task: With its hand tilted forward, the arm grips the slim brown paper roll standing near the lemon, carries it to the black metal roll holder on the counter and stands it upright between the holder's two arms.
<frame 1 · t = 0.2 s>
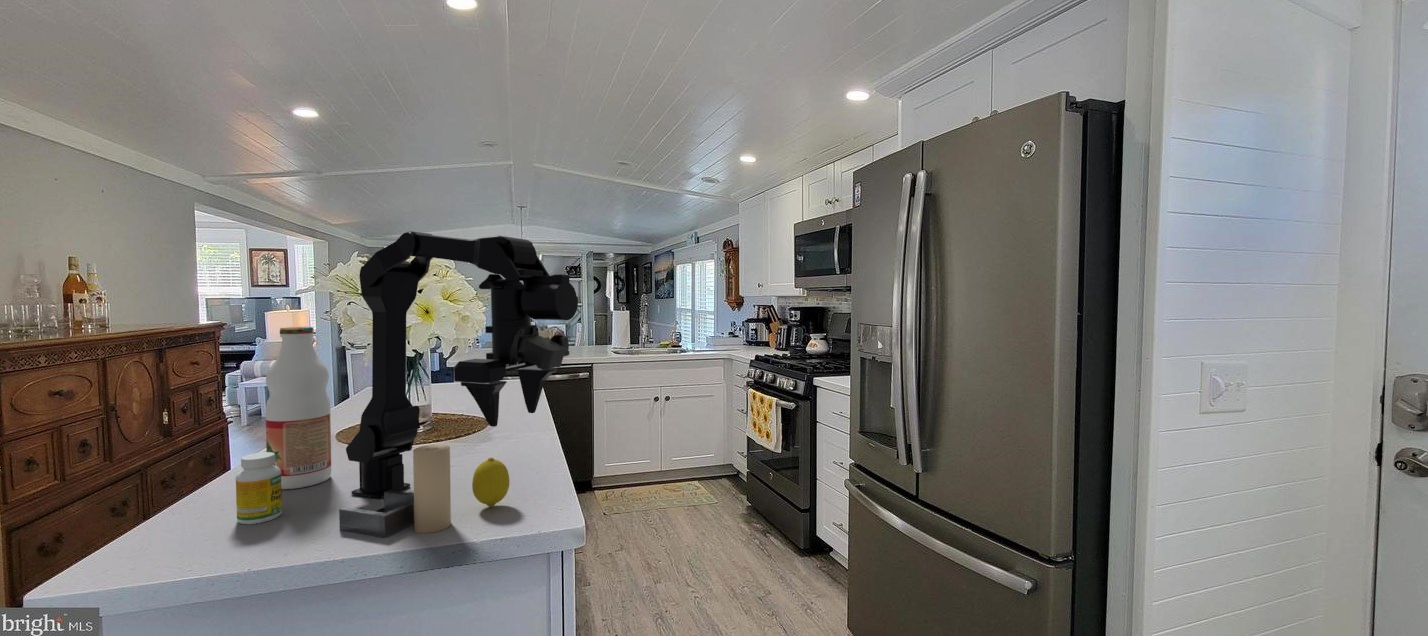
hand: (513, 419, 88), 15 cm above the worktop, tool pointing down, fingers open, 9 cm apart
holder: (387, 522, 84), on the worktop
paper roll: (432, 526, 83), on the worktop
lemon: (491, 508, 91), on the worktop
fruit juice: (300, 482, 102), on the worktop
supplement bottle: (259, 519, 86), on the worktop
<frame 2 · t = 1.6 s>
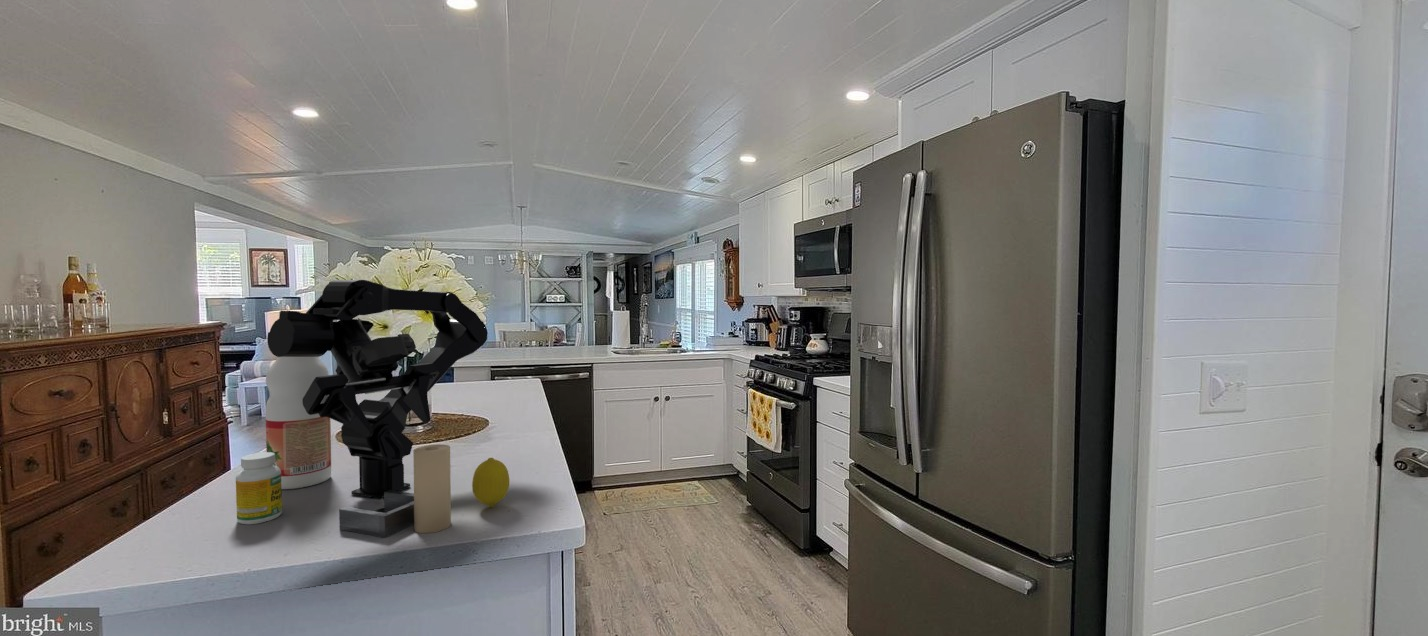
hand: (400, 428, 86), 14 cm above the worktop, tool tilted 45°, fingers open, 9 cm apart
nothing on the worktop moved.
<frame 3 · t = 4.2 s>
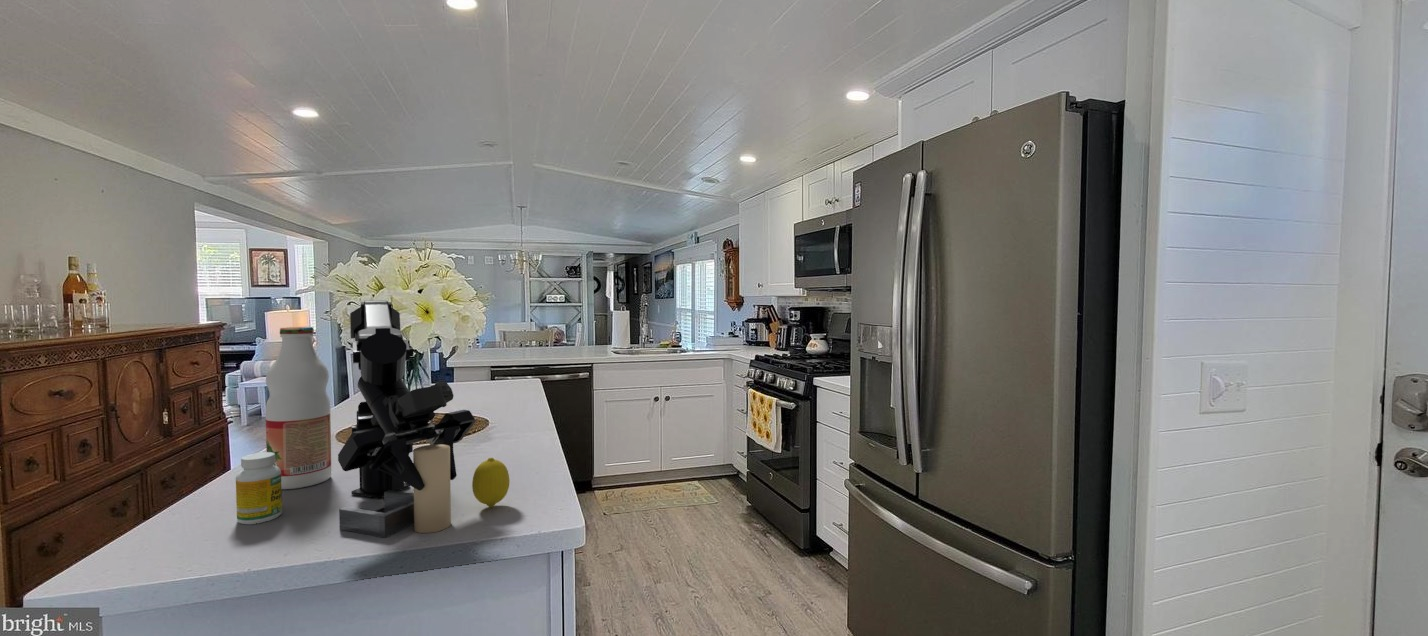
hand: (438, 483, 82), 7 cm above the worktop, tool tilted 45°, fingers closed on paper roll, 5 cm apart
paper roll: (432, 526, 83), on the worktop, touching gripper
everything else where it was.
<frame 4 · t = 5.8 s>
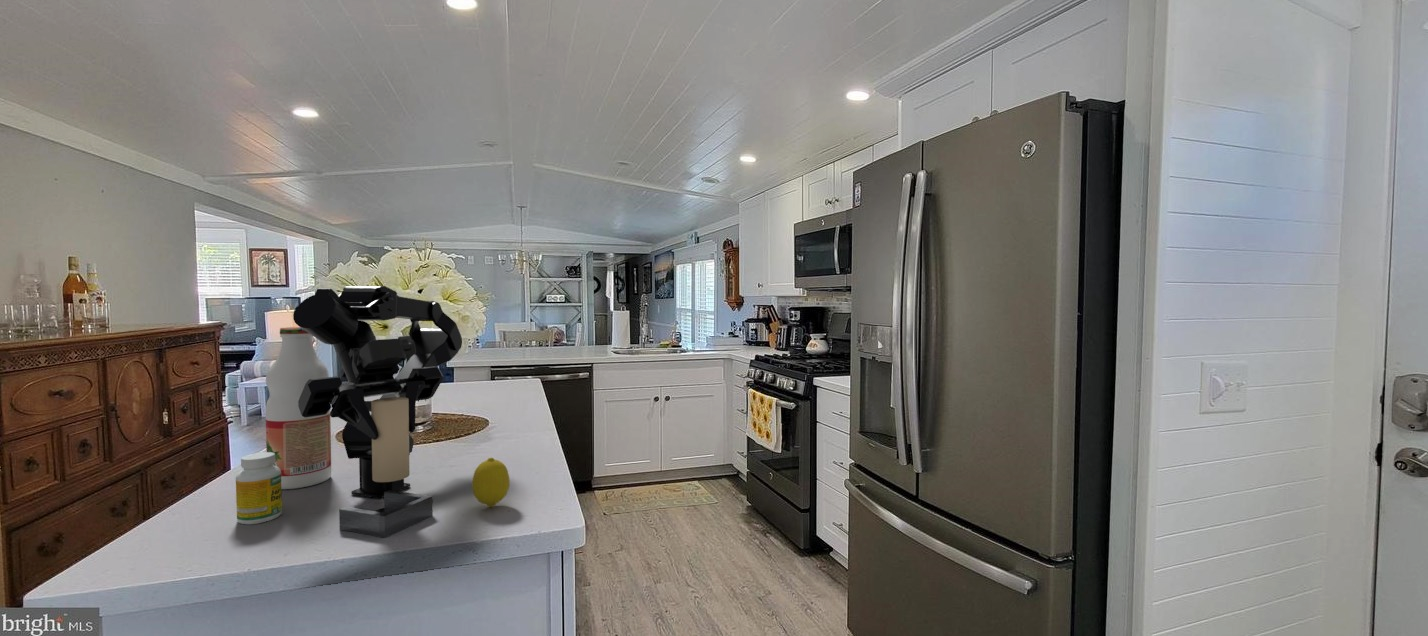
hand: (395, 434, 83), 13 cm above the worktop, tool tilted 45°, fingers closed on paper roll, 5 cm apart
paper roll: (391, 476, 84), point 7 cm above the worktop, touching gripper
everything else where it was.
when the fingers open (9 cm above the worktop, at t = 7.4 s): paper roll drops 1 cm, resting on holder.
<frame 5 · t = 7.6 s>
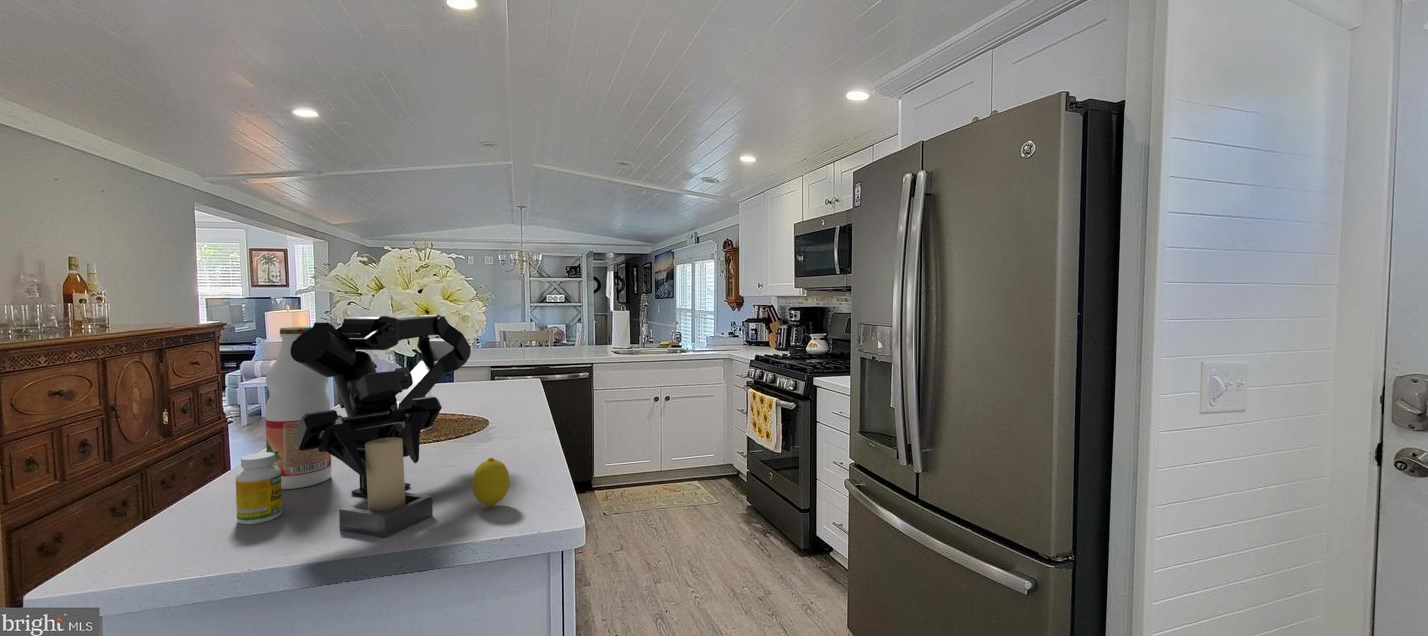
hand: (390, 467, 83), 9 cm above the worktop, tool tilted 45°, fingers open, 7 cm apart
paper roll: (387, 517, 84), point 1 cm above the worktop, touching holder
everything else where it was.
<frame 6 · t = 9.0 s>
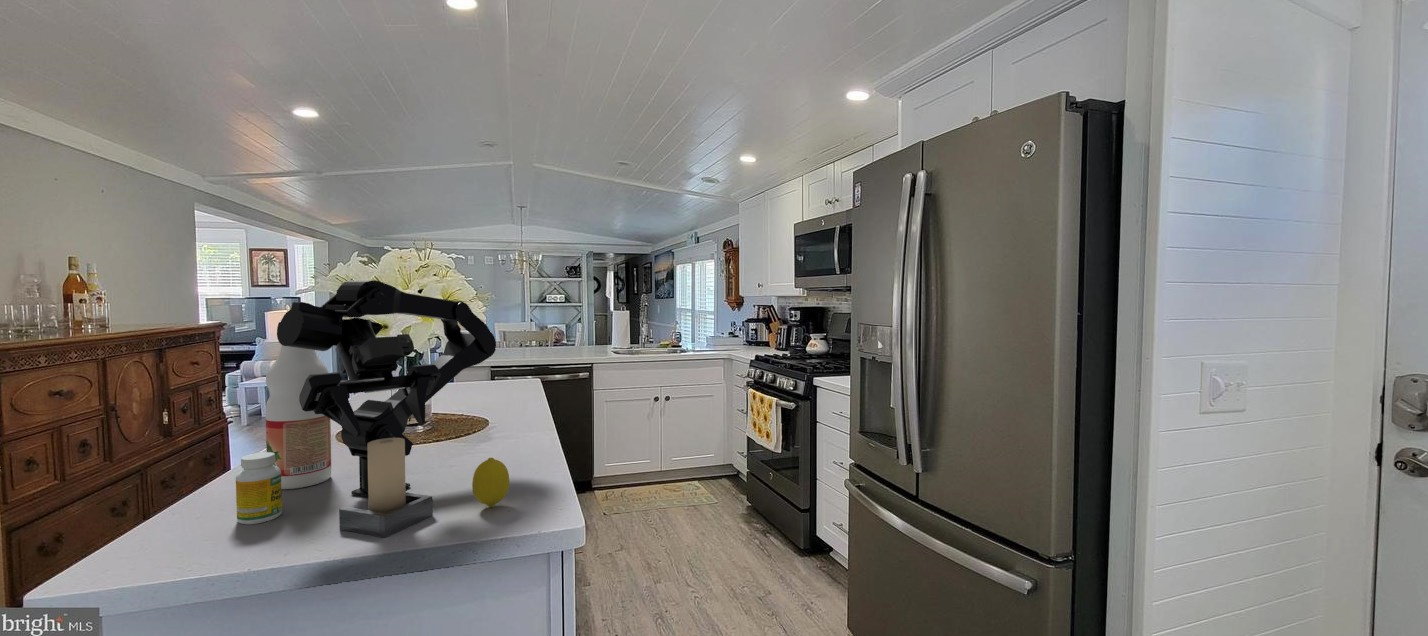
hand: (392, 429, 86), 14 cm above the worktop, tool tilted 45°, fingers open, 9 cm apart
nothing on the worktop moved.
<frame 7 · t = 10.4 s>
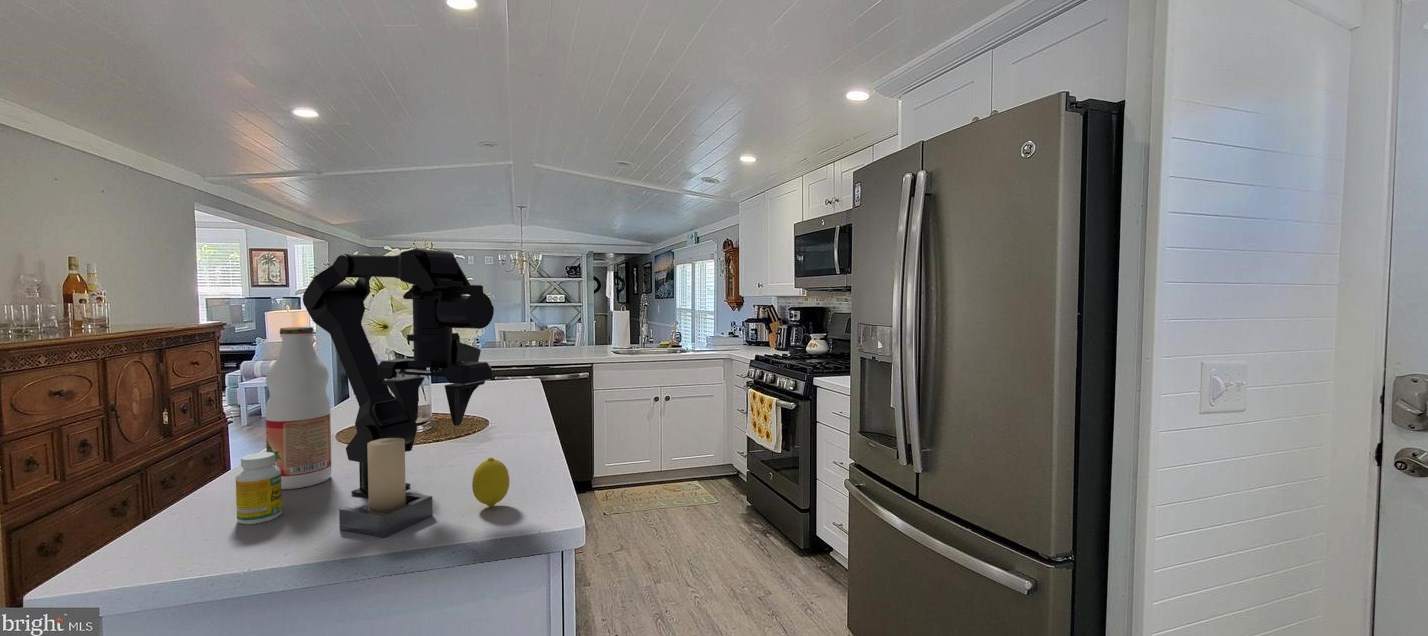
hand: (435, 423, 92), 13 cm above the worktop, tool pointing down, fingers open, 9 cm apart
nothing on the worktop moved.
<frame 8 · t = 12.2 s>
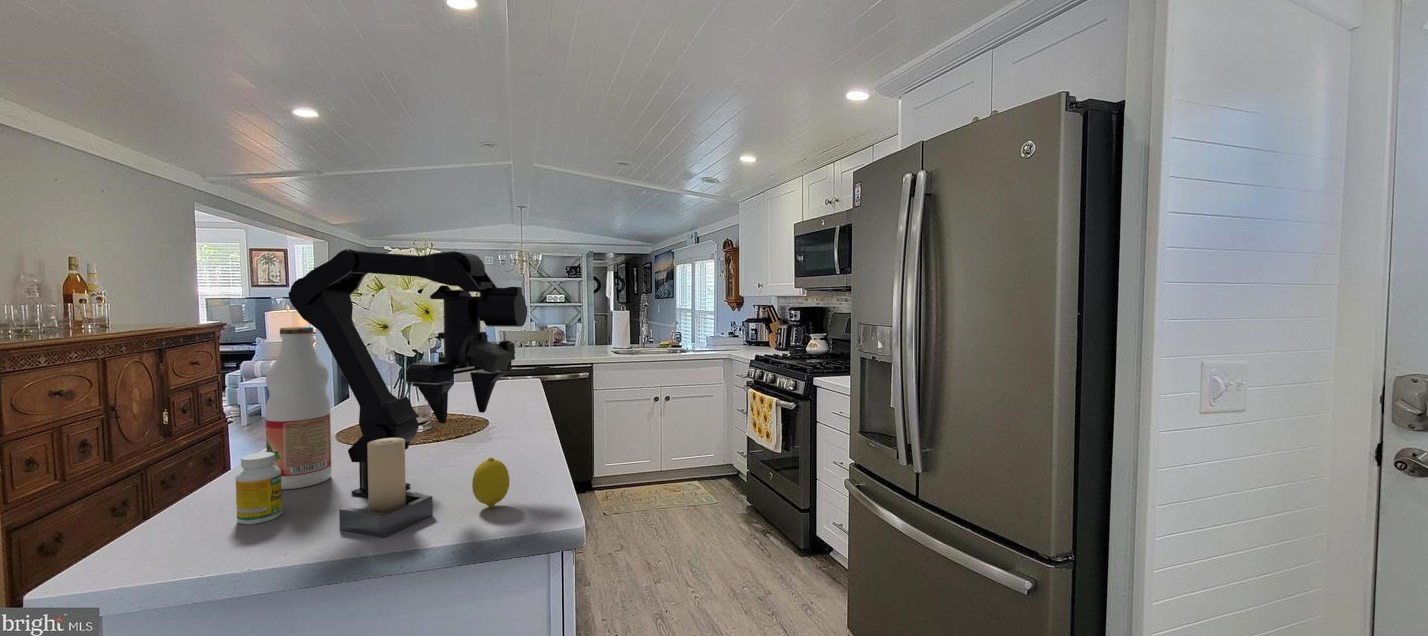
hand: (463, 417, 97), 13 cm above the worktop, tool pointing down, fingers open, 9 cm apart
nothing on the worktop moved.
at the end: paper roll 0.2 cm off-centre on the holder, point 0.6 cm above the holder's base; paper roll tilted 0°; the gripper is holding nothing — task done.
